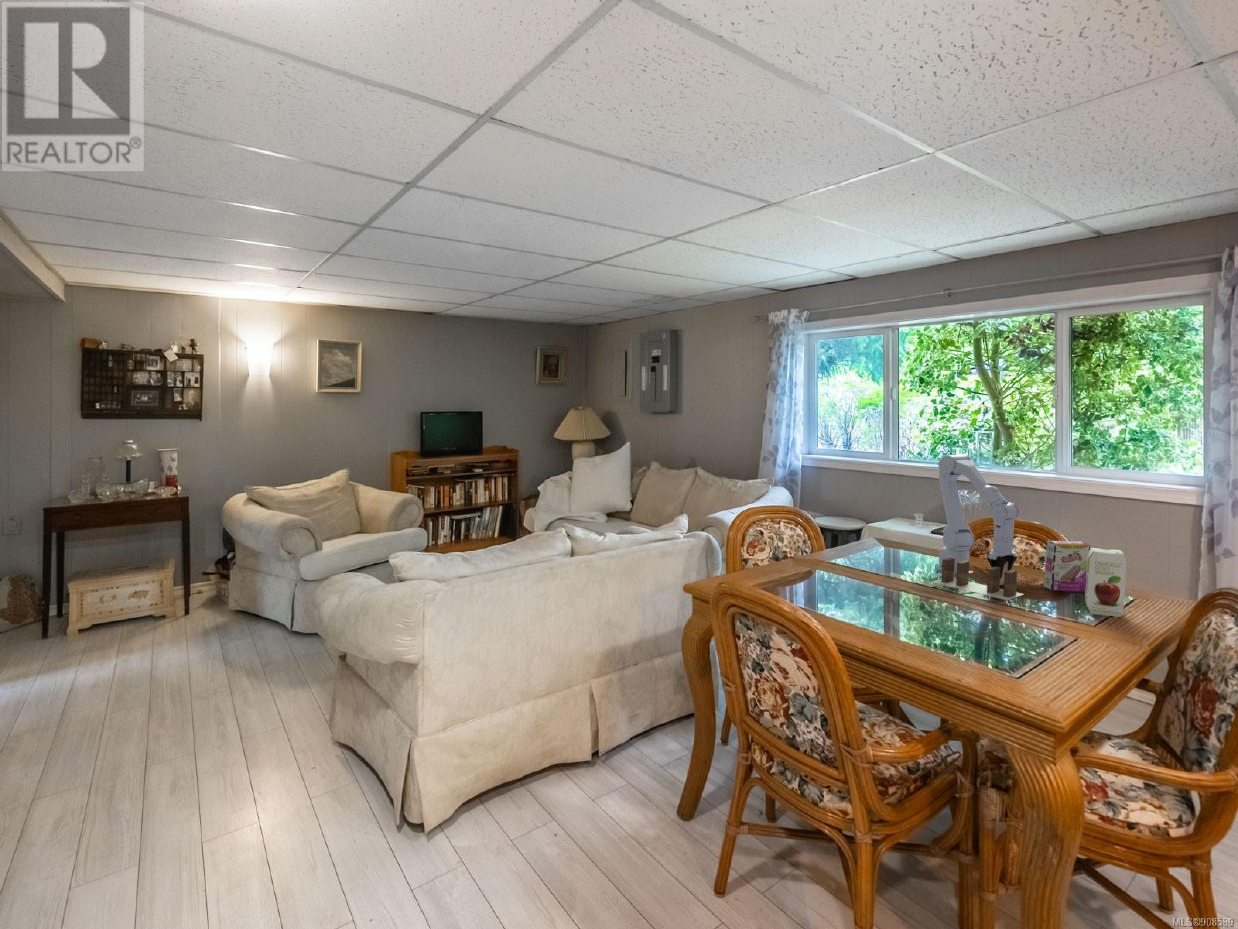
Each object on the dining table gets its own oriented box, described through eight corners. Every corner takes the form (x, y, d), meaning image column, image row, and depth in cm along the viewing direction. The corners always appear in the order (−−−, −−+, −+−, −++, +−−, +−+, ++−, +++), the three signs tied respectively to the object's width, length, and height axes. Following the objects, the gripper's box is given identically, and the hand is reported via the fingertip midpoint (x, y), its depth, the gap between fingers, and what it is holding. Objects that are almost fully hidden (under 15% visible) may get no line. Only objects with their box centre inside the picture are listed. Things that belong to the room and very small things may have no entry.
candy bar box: (1052, 592, 199) (1054, 543, 198) (1043, 587, 204) (1045, 540, 203) (1088, 592, 198) (1091, 544, 197) (1078, 588, 203) (1081, 540, 202)
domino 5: (1003, 596, 194) (1004, 572, 193) (1010, 593, 197) (1011, 569, 196) (1008, 597, 193) (1009, 573, 192) (1015, 594, 195) (1017, 570, 195)
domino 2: (956, 585, 206) (956, 562, 206) (963, 582, 209) (964, 560, 208) (960, 586, 205) (961, 563, 204) (968, 584, 208) (969, 561, 207)
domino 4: (995, 585, 207) (996, 563, 206) (1002, 583, 210) (1003, 561, 209) (999, 586, 206) (1001, 564, 205) (1007, 584, 209) (1008, 561, 208)
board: (930, 583, 211) (930, 581, 211) (947, 578, 217) (947, 576, 217) (1007, 601, 190) (1008, 600, 190) (1024, 595, 196) (1024, 594, 196)
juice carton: (1083, 607, 184) (1086, 546, 182) (1119, 611, 180) (1123, 549, 178) (1087, 614, 178) (1091, 551, 176) (1124, 619, 173) (1129, 554, 172)
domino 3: (986, 592, 198) (987, 568, 197) (994, 589, 201) (995, 566, 200) (991, 593, 197) (993, 569, 196) (999, 591, 199) (1000, 567, 199)
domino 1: (941, 581, 211) (942, 559, 210) (949, 579, 213) (950, 557, 213) (946, 583, 209) (947, 560, 209) (953, 580, 212) (954, 558, 211)
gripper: (1005, 542, 199) (1003, 582, 200) (1026, 537, 207) (1024, 576, 208) (983, 539, 205) (981, 578, 206) (1003, 534, 213) (1002, 571, 214)
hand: (1001, 576), depth 208 cm, fingers closed on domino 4, 5 cm apart
